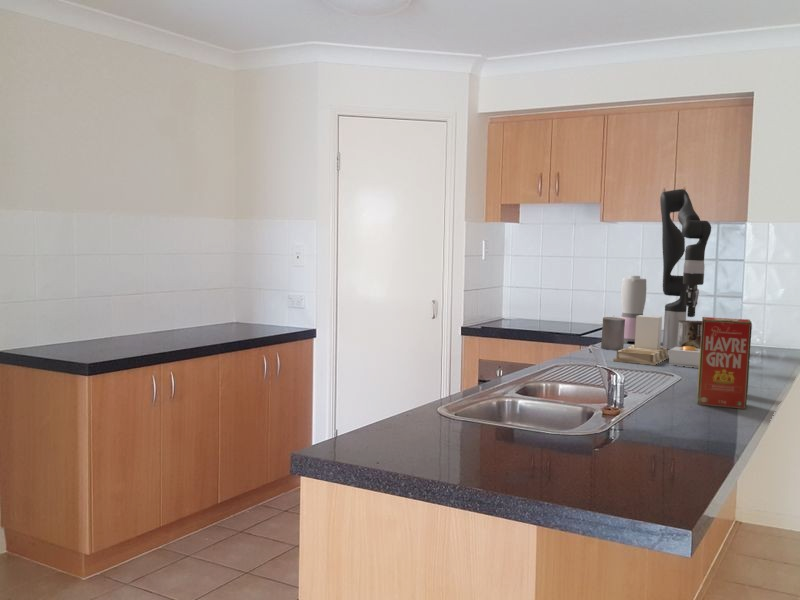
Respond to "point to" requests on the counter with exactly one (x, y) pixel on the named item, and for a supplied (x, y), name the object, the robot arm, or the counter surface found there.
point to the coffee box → (689, 333)
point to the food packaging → (724, 362)
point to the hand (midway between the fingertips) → (691, 316)
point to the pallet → (641, 355)
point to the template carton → (648, 332)
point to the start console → (684, 357)
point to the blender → (632, 304)
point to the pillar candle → (613, 333)
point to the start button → (689, 348)
